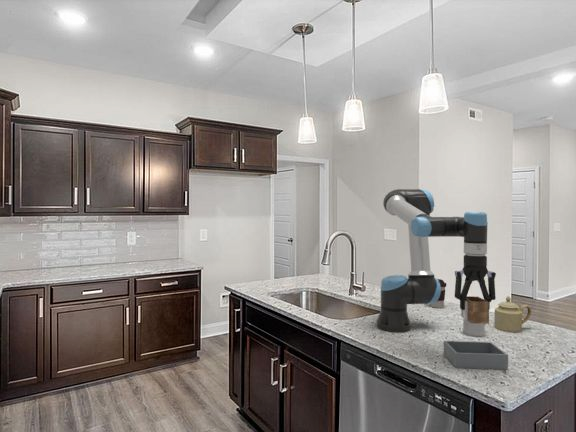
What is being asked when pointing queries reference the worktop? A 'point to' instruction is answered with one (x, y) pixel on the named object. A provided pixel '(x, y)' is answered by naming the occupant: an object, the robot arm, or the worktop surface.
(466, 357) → the grey crate
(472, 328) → the mug
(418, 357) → the worktop surface
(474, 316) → the walnut crate
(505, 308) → the beige teapot
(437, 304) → the coffee cup
